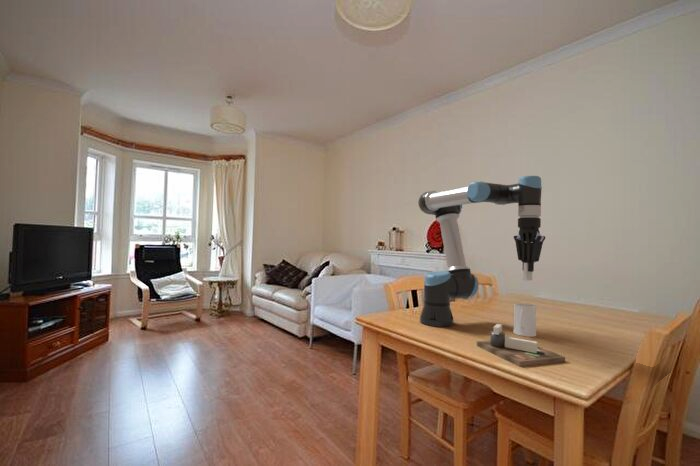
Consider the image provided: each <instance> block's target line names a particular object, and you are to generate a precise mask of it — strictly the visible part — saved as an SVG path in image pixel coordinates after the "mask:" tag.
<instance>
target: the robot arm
mask: <svg viewBox="0 0 700 466" xmlns="http://www.w3.org/2000/svg"><path fill="white" fill-rule="evenodd" d="M542 189H543V186H542V178H541V177H540V176H538V175H525V176H521V177H519V179H518V183H513V184H501V183H493V182H486V181H473V182H471V183H470V184H469V185H465V186H461V187H455V188H451V189H446V190H442V191H436V190H431V191H425V192H423V193H422V194H421V195H420V196H419V198H418V207H419V209H420V210H421V212H422V213H425V214H426V215H433V216H434V217H435V221H436V222H437V223H439V226H440V232H441V233H440V234H441V238H442V243H443V248H444V252H445V253H444V254H445V258H446V265H447V268H446V269H447V270H444V271H443V270H440V271H439V270H438V271H431V272H430V271H429V272H427V273H426V274H425V276H424V280H423V284H424V288H423V289H424V290H423V291H424V292H423V306H422V309H421V312H420V316H419V323H421V324H423V325H426V326H431V327H438V328H439V327H440V328H443V327H452V326H454V323H455V320H454V316H453V313H452V310H451V300H458V299H460V300H464V299H470V298H473V297H474V296H475V295H476V294H477V292H478V291H479V280H478V278H477V277H478V276H476V275H475V274H473V273H472V271H471V268H470V267H468V265H467V264H466V259H465V253H464V249H463V244H462V238H461V233H460V229H459V223H458V219H459V217H460V214H461V212H462V209H463V205H470V204H477V203H492V204H494V205H503V206H504V205H505V206H506V205H510V204H518V210H517V212H518V213H517V215H518V219H517V228H518V229H519V230H518V233H517V235H513V239H514V241H515V248H516V253H517V259H518V261H520V262H522V271H523V273H522V275H523V277H522V279H523V280H524V281H533V272H534V270H535V269H534V266H535V265H534V264H535V263H537V262H539V261H540V257H541V253H542V248H543V245H544V244H543V243H544V241H545V240H546V236H545V235H542V234H541V233H540V228H541V226H542V225H541V222H542V221H541V216H542V201H541V200H542Z"/></svg>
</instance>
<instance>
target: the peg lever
mask: <svg viewBox="0 0 700 466" xmlns="http://www.w3.org/2000/svg"><path fill="white" fill-rule="evenodd" d="M489 340H490V345H492V346H494V347H501V348H502V347H507V348H512V349H517V350H522V351H527V352H533V353H538V354H543V355H545V352H540V351H537V346H538V341H534V340H527V339H523V338H516V337H512V336H506V334H505V332H503V324H502V323H501V324H499V323H497V324H495V325H494V326H493V330H491V331H490V339H489Z"/></svg>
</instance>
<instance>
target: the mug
mask: <svg viewBox="0 0 700 466" xmlns="http://www.w3.org/2000/svg"><path fill="white" fill-rule="evenodd" d="M512 332H513V333H514V335H517V336H521V337H528V338H533V337H536V336H537V305H534V304H532V303H524V302H515V303H514V304H513V330H512Z"/></svg>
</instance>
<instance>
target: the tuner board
mask: <svg viewBox="0 0 700 466" xmlns="http://www.w3.org/2000/svg"><path fill="white" fill-rule="evenodd" d="M476 346H477V347H479V348H481V349H482V350H485V351H487V352H489V353H491V354H493V355H495V356H497V357H499V358H501V359H504V360H506V361H508V362H509V363H511V364H513V365H515V366H518V367H528V366H537V365H538V364H539V365H547V364H554V363H555V364H556V363H565V362H566V356H563V355H561V354H558V353H556V352H553V351H551V350H548V349H547V348H546V349H545V348H543V347H540V346H538V345H537V351H540V352H545V355H543V354H538V353H533V352H527V351H522V350H517V349H512V348H507V347H502V348H501V347H494V346H492V345H490V339H489V340H477V341H476Z"/></svg>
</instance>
